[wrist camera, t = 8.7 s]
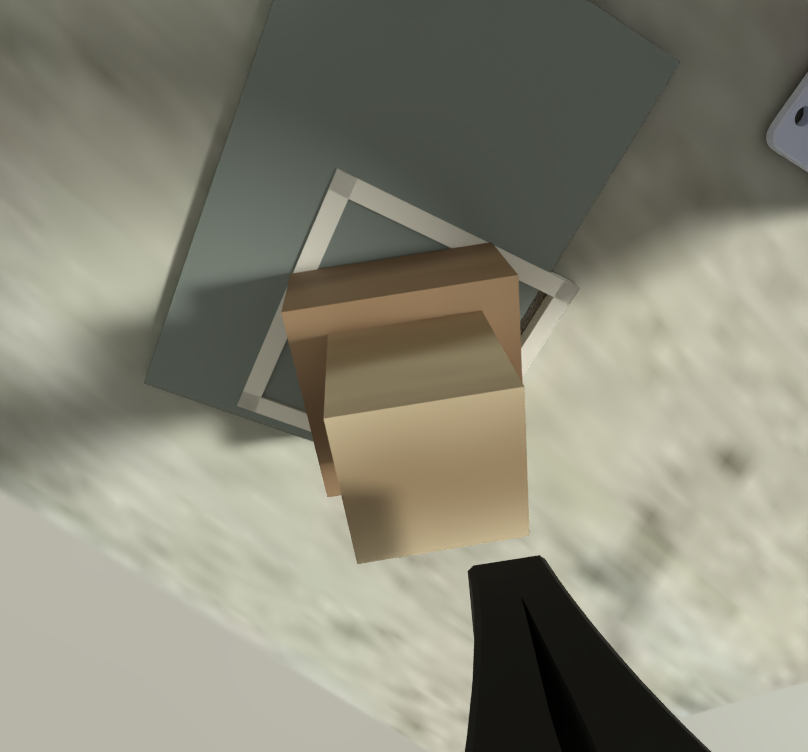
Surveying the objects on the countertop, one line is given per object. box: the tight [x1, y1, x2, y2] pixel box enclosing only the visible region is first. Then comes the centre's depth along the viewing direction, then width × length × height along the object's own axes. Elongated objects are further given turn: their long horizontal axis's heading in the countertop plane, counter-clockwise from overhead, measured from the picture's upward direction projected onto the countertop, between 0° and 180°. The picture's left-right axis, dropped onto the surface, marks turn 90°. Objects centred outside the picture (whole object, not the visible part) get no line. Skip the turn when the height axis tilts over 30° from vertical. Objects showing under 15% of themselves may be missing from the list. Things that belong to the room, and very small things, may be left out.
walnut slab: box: [281, 242, 522, 497], centre depth 17 cm, size 6×6×3 cm
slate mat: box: [144, 0, 680, 441], centre depth 17 cm, size 15×11×1 cm
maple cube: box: [324, 310, 529, 564], centre depth 14 cm, size 4×4×4 cm
